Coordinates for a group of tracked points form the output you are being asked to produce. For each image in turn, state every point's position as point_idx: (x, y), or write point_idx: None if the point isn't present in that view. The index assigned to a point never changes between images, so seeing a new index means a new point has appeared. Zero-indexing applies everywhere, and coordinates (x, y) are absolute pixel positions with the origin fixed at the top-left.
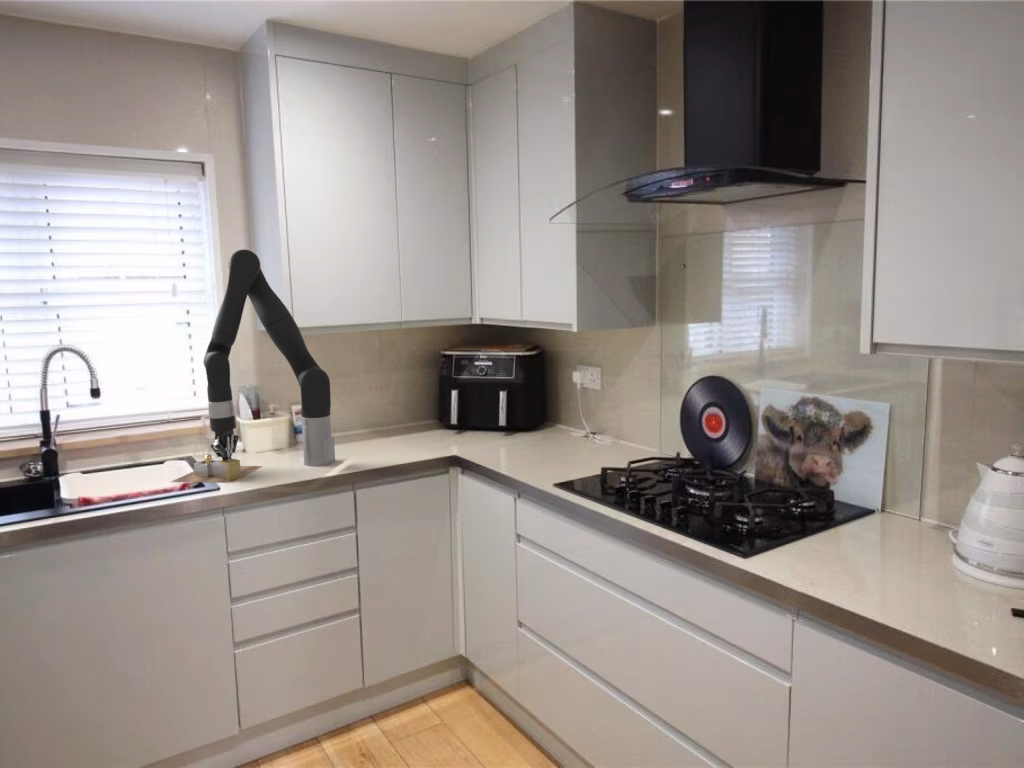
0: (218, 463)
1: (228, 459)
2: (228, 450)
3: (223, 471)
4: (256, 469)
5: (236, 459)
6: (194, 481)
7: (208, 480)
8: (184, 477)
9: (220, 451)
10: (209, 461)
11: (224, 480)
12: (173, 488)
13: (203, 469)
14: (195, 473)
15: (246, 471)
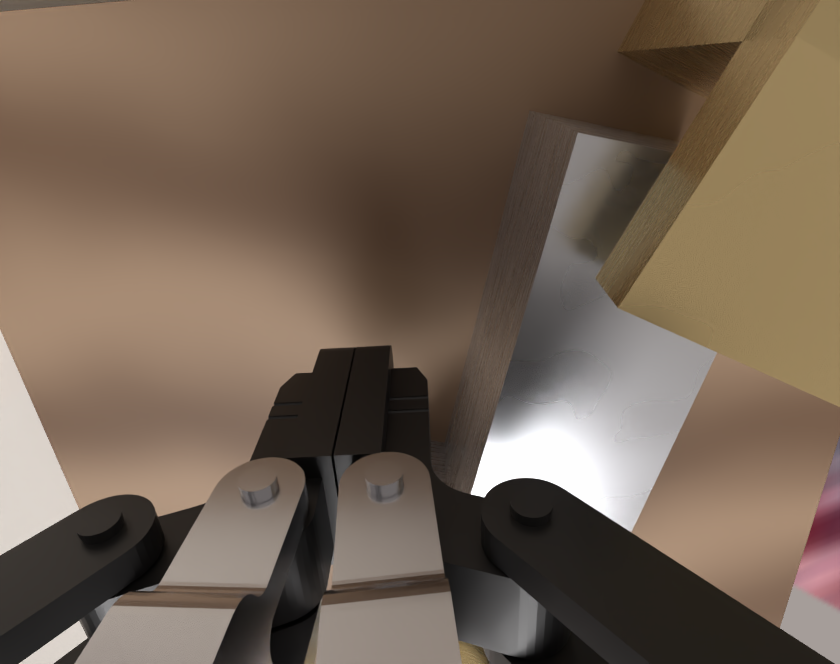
0: (588, 486)
1: (753, 297)
2: (366, 583)
3: None
4: (94, 12)
5: (791, 44)
6: (788, 505)
7: (766, 384)
8: None
9: (789, 656)
10: (475, 651)
11: None
12: (819, 592)
13: None
14: None
15: (256, 122)
